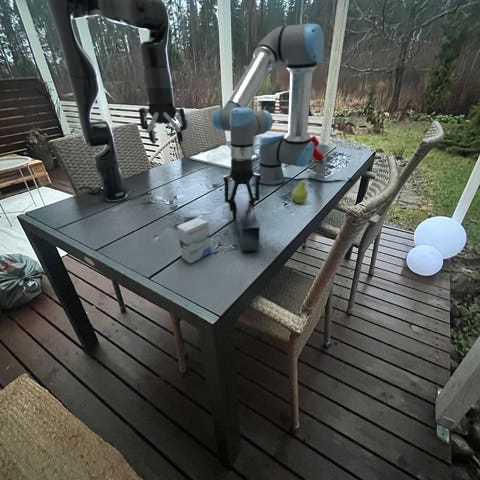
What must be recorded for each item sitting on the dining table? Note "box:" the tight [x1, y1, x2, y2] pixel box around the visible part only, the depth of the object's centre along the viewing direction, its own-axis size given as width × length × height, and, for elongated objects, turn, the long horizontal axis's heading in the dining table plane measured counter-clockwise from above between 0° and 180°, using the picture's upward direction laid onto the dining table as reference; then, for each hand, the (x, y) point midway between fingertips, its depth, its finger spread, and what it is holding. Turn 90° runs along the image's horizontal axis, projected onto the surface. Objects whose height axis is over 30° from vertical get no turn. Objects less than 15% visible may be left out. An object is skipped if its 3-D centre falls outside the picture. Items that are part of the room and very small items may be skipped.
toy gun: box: [310, 135, 324, 163], centre depth 172 cm, size 18×4×15 cm
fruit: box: [291, 174, 311, 204], centre depth 118 cm, size 7×8×12 cm
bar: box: [234, 193, 261, 252], centre depth 96 cm, size 26×5×8 cm, turn 7°
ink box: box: [176, 216, 212, 264], centre depth 84 cm, size 8×5×12 cm, turn 135°
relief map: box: [189, 144, 258, 170], centre depth 177 cm, size 27×35×5 cm
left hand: (167, 143), depth 88 cm, fingers open, 8 cm apart
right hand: (241, 217), depth 106 cm, fingers closed on bar, 5 cm apart
